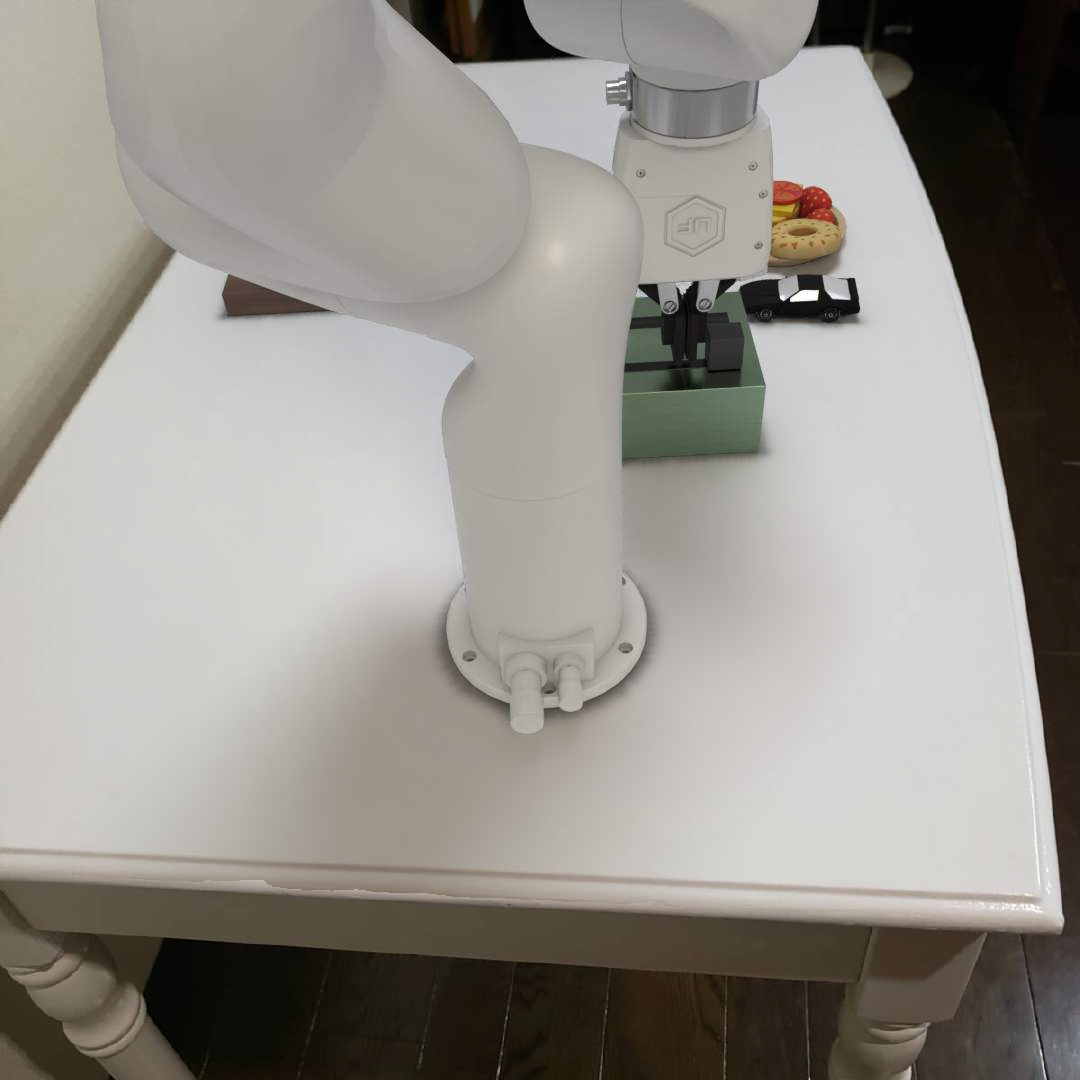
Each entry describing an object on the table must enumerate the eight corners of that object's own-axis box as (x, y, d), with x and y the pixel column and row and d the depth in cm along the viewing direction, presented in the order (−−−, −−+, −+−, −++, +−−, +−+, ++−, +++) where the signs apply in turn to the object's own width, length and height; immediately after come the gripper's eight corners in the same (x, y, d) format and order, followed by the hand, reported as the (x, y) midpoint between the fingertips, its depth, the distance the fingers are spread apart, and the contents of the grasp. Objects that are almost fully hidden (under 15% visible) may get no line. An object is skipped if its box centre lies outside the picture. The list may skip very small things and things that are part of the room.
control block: (340, 309, 98) (332, 269, 95) (227, 316, 98) (216, 276, 95) (353, 238, 106) (346, 200, 104) (249, 245, 107) (239, 206, 104)
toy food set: (832, 284, 97) (837, 250, 94) (683, 264, 100) (684, 231, 98) (853, 208, 106) (858, 176, 103) (715, 193, 109) (717, 161, 107)
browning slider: (742, 368, 79) (744, 338, 77) (708, 370, 79) (710, 340, 77) (737, 352, 80) (740, 321, 78) (704, 354, 80) (706, 323, 79)
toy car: (736, 322, 93) (738, 294, 92) (734, 295, 96) (736, 268, 94) (858, 323, 92) (863, 295, 91) (852, 296, 95) (857, 268, 93)
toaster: (758, 451, 82) (766, 385, 77) (594, 460, 82) (593, 395, 78) (734, 355, 90) (740, 290, 86) (586, 363, 90) (584, 299, 86)
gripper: (570, 132, 64) (580, 389, 77) (833, 115, 63) (798, 375, 76) (564, 77, 69) (574, 326, 82) (807, 60, 69) (778, 313, 82)
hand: (682, 349), depth 79 cm, fingers closed
